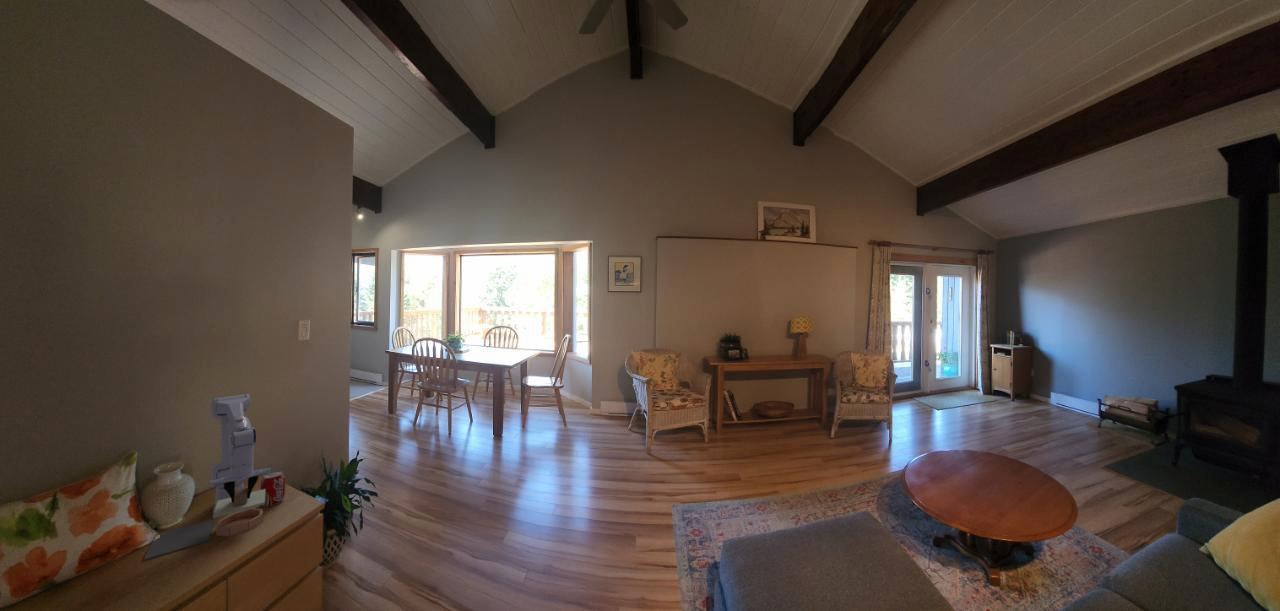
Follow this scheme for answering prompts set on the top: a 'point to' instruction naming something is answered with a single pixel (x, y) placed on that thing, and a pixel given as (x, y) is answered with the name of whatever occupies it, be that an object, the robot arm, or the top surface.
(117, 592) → the top surface
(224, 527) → the bowl
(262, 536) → the top surface
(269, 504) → the soda can
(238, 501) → the cover
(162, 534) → the mat
